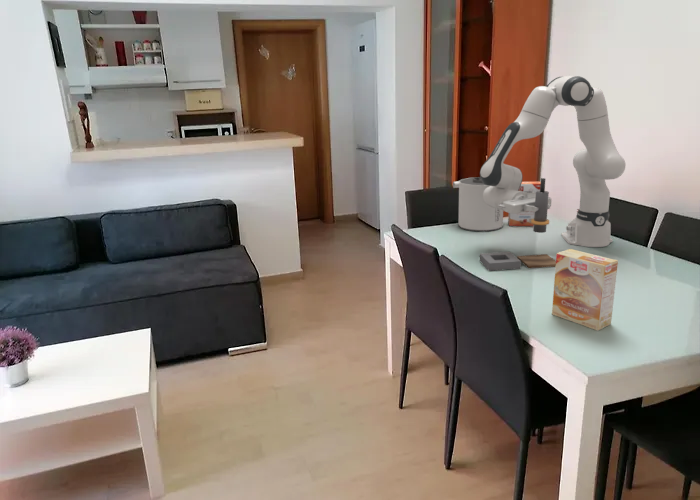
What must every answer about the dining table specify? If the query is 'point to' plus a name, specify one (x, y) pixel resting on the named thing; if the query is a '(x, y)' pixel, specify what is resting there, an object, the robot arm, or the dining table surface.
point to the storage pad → (537, 261)
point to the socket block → (500, 261)
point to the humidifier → (476, 207)
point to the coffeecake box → (584, 288)
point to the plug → (541, 209)
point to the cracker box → (526, 217)
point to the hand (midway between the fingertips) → (543, 208)
